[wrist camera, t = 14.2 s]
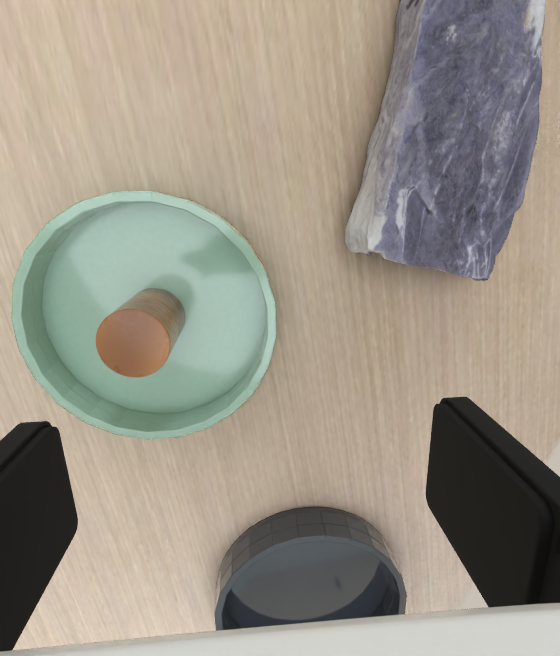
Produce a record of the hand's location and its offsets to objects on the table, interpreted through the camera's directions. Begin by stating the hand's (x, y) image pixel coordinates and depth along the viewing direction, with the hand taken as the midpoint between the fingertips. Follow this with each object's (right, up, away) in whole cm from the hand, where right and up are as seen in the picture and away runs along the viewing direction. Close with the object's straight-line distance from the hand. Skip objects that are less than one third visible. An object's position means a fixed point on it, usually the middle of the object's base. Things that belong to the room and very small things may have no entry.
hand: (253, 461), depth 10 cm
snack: (-8, +4, +18) cm, 20 cm away
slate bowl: (+3, -20, +26) cm, 33 cm away
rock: (+10, +19, +16) cm, 27 cm away
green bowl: (-8, +4, +18) cm, 20 cm away
